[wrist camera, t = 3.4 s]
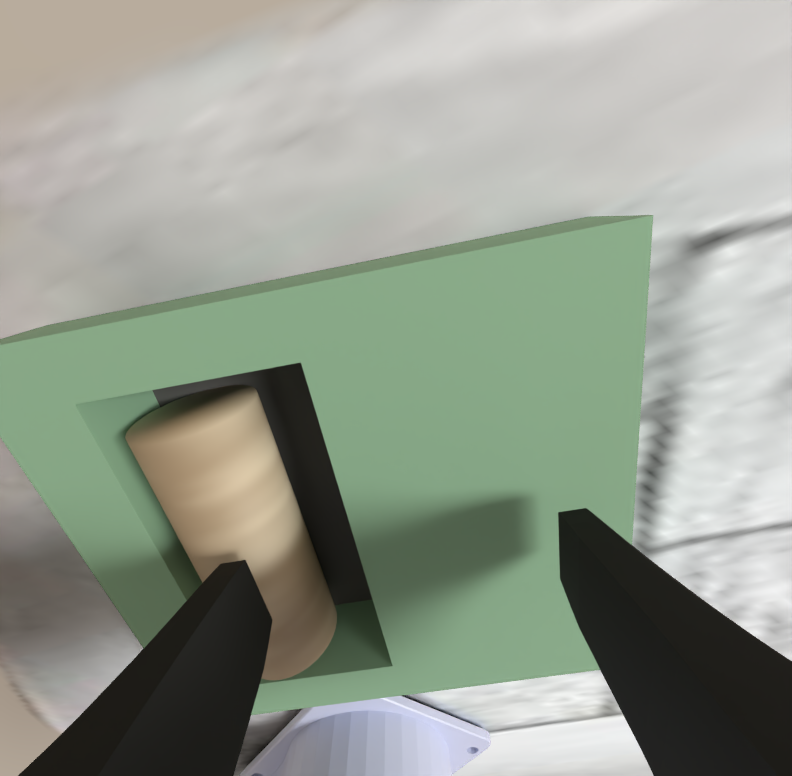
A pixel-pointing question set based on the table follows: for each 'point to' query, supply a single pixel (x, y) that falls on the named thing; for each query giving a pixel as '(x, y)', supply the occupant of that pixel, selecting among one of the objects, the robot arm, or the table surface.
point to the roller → (239, 512)
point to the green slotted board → (373, 443)
